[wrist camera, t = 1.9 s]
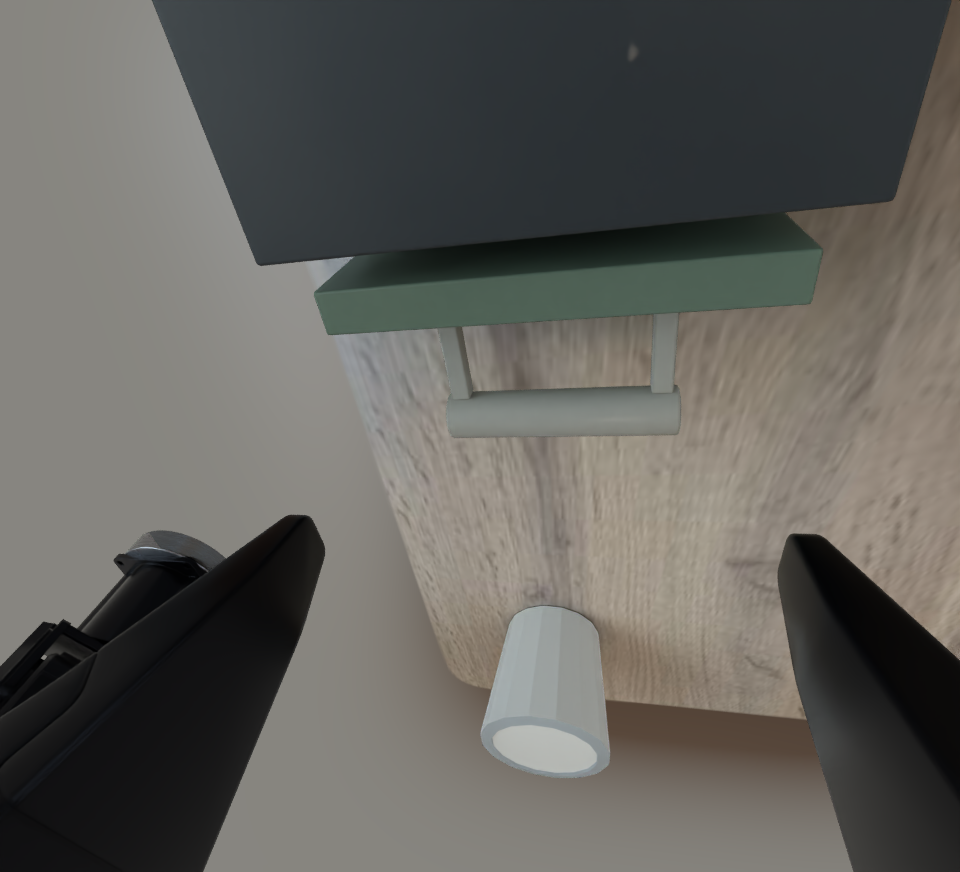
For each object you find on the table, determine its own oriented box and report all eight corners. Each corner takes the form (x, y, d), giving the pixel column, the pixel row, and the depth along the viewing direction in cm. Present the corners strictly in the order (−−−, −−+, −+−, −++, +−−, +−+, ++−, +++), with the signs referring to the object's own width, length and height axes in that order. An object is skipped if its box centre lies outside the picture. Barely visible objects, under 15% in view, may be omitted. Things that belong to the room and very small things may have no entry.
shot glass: (616, 664, 34) (619, 785, 28) (514, 663, 36) (498, 775, 30) (599, 597, 30) (598, 721, 25) (486, 600, 32) (463, 715, 27)
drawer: (725, 354, 19) (773, 475, 14) (429, 367, 22) (374, 474, 16) (843, -520, 9) (1172, -1280, 4) (274, -299, 12) (11, -573, 7)
